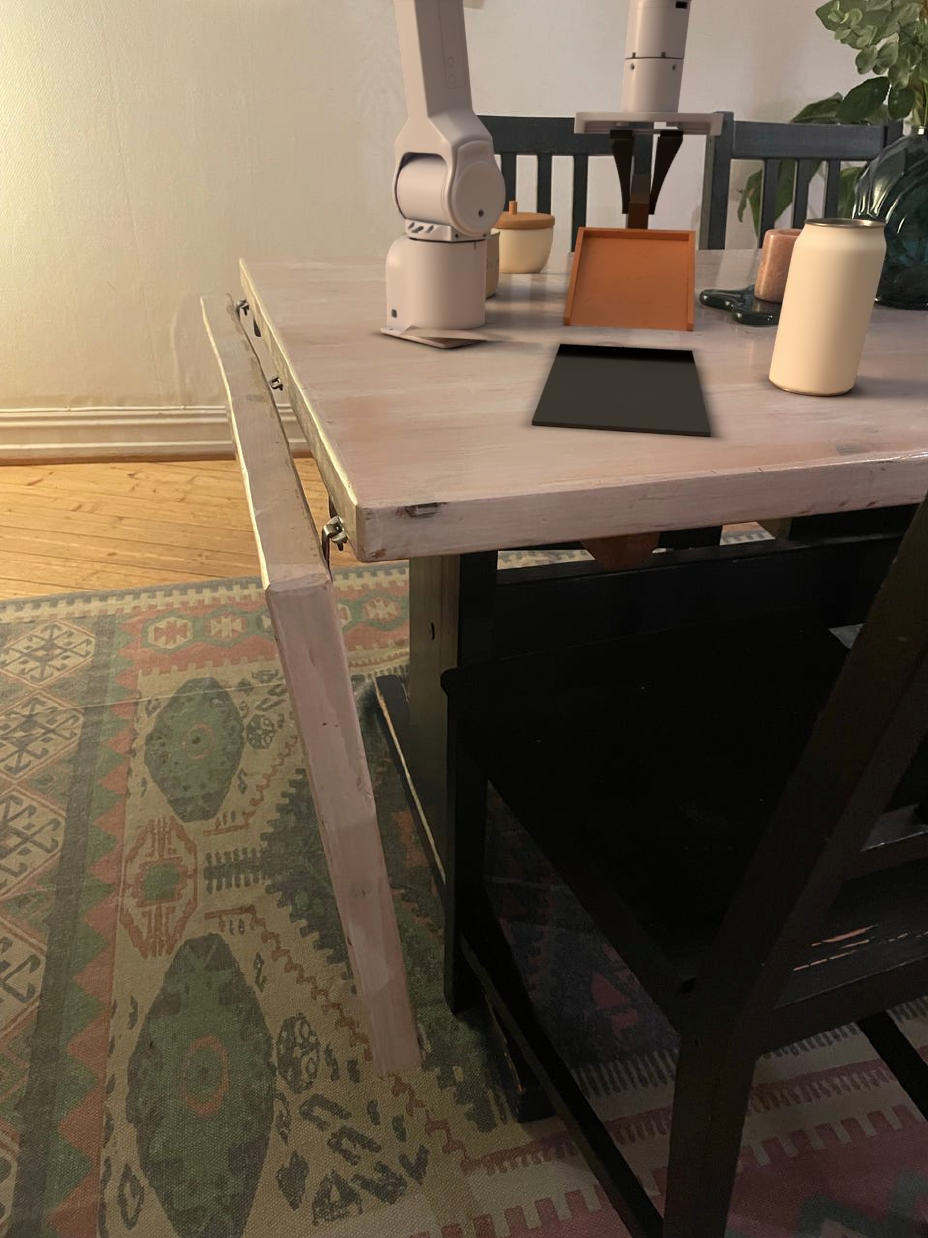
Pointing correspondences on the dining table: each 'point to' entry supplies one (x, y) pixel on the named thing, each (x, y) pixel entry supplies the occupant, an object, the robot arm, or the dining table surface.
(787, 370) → the can
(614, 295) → the dustpan
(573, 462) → the dining table surface
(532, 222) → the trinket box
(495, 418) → the dining table surface
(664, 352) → the mat
